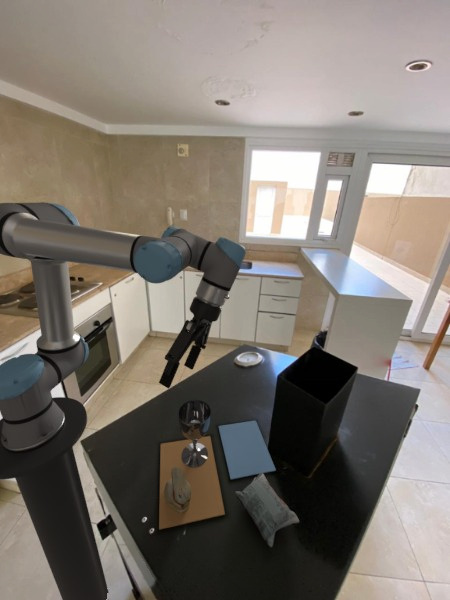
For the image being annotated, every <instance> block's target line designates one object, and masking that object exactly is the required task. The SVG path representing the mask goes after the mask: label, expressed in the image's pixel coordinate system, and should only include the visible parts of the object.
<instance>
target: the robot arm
mask: <svg viewBox="0 0 450 600" xmlns="http://www.w3.org/2000/svg"><path fill="white" fill-rule="evenodd" d="M246 254H247V249H246V247H245V246H244V245H242V244H240V243H238V242H236V241H235V240H234V241H233V240H231V239H228V238H226V237H223V236H220V237H218V238H217V240H216V241H215V242H214V241H211V240H208V239H206V238H203V237H201V236H199V235H197V234H195V233H193V232H190V231H188V230H187V229H185V228H180V227H178V226H175V225H171V226H168V227H167V228H166V229H165V230H164V231H163V233H162V234H161V237H155V236H150V235H149V236H148V235H141V234H136V233H129V232H122V231H116V230H110V229H109V230H108V229H102V228H95V227H88V226H82V225H81V224H80V222H79V220H78V218H77V216H76V215H75V214H74V213H72V211H71V210H70V209H68V208H67V207H65V206H64V205H62V204H59V203H53V202H45V201H41V202H0V255H3V256H6V257H10V258H17V259H23V260H28V261H29V262H30V266H31V273H32V280H33V285H34V293H35V300H36V307H37V313H38V320H39V328H40V334H41V335H40V336H39V337H37V339H36V341H35V342H36V350H37V351H36V352H35V353H24V354H20V355H19V356H17V357H16V356H14V357H11V358H10V359H8V360H5V361H4V362H2V363H1V364H0V415H1V417H2V418H3V420H4V422H3V429H2V432H1V433H2V436H1V441H2V444H3V447H4V449H5V450H7V451H8V452H11V453H24V452H29V451H32V450H35V449H37V448H39V447H41V446H43V445H45V444H47V443H48V442H50V441H51V440H52V439H54V438H55V437H56V436H57V435H58V434H59V433H60V431H61V430H62V428H63V427H64V424H65V416H64V413H63V411H62V410H61V409H60V408H59V407H58V406H57V404H56V403H55V402H54V401H53V399H52V398H53V395H52V390H53V389H55V388H57V386H58V385H59V384H61V383H62V382H63V381H64V380H66V379H67V378H69V377H70V376H71V375H72V374H73V373H75V372H76V371H77V370H79V369H80V368H81V367H82V366H83V364H84V363H85V362H86V361H87V359H89V358H88V357H89V355H90V347H89V344H88V342H85V338H84V337H83V336H81V335H80V334H79V332H78V331H77V330H75V325H74V316H73V303H72V293H71V281H70V269H69V263H73V264H74V263H75V264H80V265H85V266H91V267H92V266H93V267H99V268H103V269H110V270H116V271H121V272H127V273H132V274H137V275H139V277H140V278H142V279H143V280H145V281H146V282H148V283H149V284H157V285H158V284H162V283H165V282H168V281H170V280H173V278H175V277H176V276H177V275H178V274H180V273H181V272H183V271H184V270H185V269H187V268H188V267H190V268H192V269H194V270H197V271H198V272H202V273H203V275H202V277H201V279H200V281H199V284H198V286H197V288H196V291H195V295H196V296H194V297H193V299H192V300H191V304H190V305H189V311H190V313H191V314H192V315H193V317H192V319H190V320H188V319H186V320H185V321H184V324H183V326H182V327H181V330H180V331H179V333H178V335H177V337H176V338H175V339H174V341H173V343H172V344H171V346H170V348H169V350H168V351H167V353H166V354H165V356H164V360H166V361H167V362H166V364H165V366H164V369H163V372H162V374H161V376H160V378H159V381H158V384H159V385H162V386H163V387H165V388H167V389H170V388H171V386H172V384H173V381H174V378H175V376H176V374H177V371H178V369H179V367H180V365H181V362H180V361H181V360H182V359H183V357H184V355H185V354H186V352H187V351H188V350H189V348H190V346H191V348H190V350H189V352H188V354H187V357H186V359H185V362H184V364H183V366H184V367H185V368H188V369H189V370H191V371H193V370H194V369H195V366H196V363H197V361H198V359H199V356H200V355H201V352H202V350H206V348H207V343H208V339H209V335H210V332H211V327H212V325H213V323H214V322H217V321H218V320H219V318H220V315H221V313H222V312H223V311H222V310H223V306H225V304H226V301H227V300H230V295H229V294H230V292H231V290H232V287H233V285H234V283H235V281H236V279H237V277H238V274H239V272H240V271H241V268H242V265H243V262H244V259H245V257H246ZM193 342H194V344H192V343H193Z"/></svg>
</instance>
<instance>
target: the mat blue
mask: <svg viewBox="0 0 450 600" xmlns="http://www.w3.org/2000/svg"><path fill="white" fill-rule="evenodd" d="M217 426H218V431H219V435H220V439H221V444H222V449H223V454H224V458H225V461H226V466H227V471H228V475H229V478H230V480H236V479H241V478H248V477H252V476H256V475H257V476H258V475H259V474H260V473H261V471H263V474H268V473H273V472H276V471H277V468H276V467H275V464H274V461H273V460H272V457H271V454H270V451H269V449H268V447H267V445H266V442H265V440H264V439H265V438H264V437H263V434H262V432H261V430H260V427H259V424H258V422H257V420H249V421H244V422H237V423H230V424H223V425H217Z"/></svg>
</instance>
